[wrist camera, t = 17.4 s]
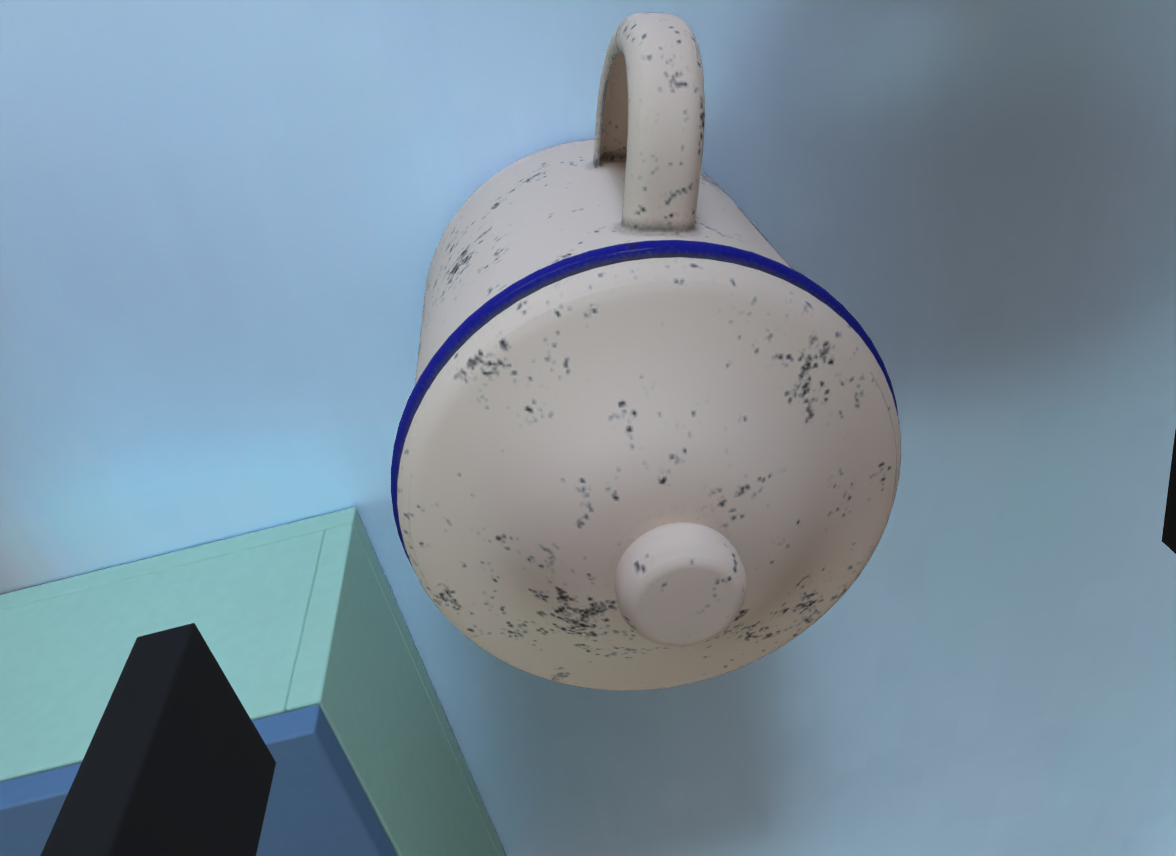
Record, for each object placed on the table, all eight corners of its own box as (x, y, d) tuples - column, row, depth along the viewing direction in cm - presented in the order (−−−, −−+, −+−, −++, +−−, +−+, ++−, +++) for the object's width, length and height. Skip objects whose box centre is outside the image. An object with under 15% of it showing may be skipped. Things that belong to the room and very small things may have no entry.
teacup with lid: (742, 456, 27) (907, 795, 17) (421, 459, 25) (390, 826, 15) (816, -2, 21) (1144, 94, 11) (402, -25, 20) (333, 61, 10)
